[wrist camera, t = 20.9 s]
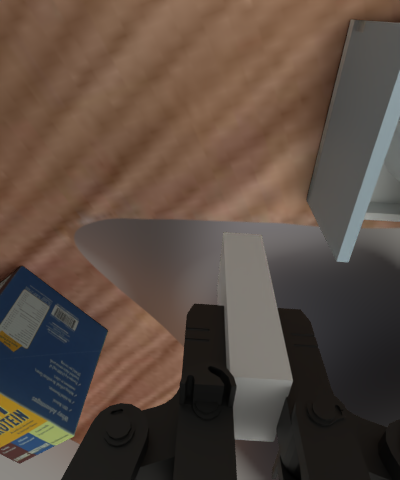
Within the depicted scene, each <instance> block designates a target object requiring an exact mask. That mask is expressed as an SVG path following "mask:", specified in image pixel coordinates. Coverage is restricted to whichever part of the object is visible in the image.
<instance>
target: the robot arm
mask: <svg viewBox="0 0 400 480" xmlns="http://www.w3.org/2000/svg"><path fill="white" fill-rule="evenodd" d="M217 289H218V305H207V304H206V305H205V304H194V305H193V306H192V308H191V309H190V311H189V312H188V314H187V320H186V333H185V344H184V356H183V368H182V379H181V382H180V388H179V390H178V392H177V393H176V394H175V396H174V397H173V398H172V399H171V400H169V401H168V402H166V403H165V404H162V405H160V406H157V407H153V408H150V409H146V410H142V411H141V410H140V409H139V408H137V407H135V406H133V405H132V404H123V403H120V404H116V405H112V406H109V407H108V408H106V409H105V410H103V411H102V412H100V413H99V415H98V416H97V417H96V418H95V420H94V421H93V422H92V424H91V426H90V428H89V430H88V431H87V433H86V435H85V437H84V439H83V441H82V442H81V444H80V446H79V448H78V450H77V452H76V454H75V455H74V457H73V459H72V461H71V463H70V464H69V466H68V468H67V470H66V472H65V473H64V475H63V477H62V479H61V480H237V475H236V474H237V473H236V455H235V439H237V440H253V441H271V442H273V441H274V439H275V435H276V432H277V437H278V443H279V451H278V454H277V457H276V460H275V464H274V466H273V469H272V479H276V477H277V474H278V479H279V480H400V420H396V421H395V422H392V423H390V424H389V426H388V427H384V426H382V425H379V424H376V423H374V422H370V421H368V420H365V419H362V418H360V417H358V416H356V415H354V414H352V413H351V412H349V411H348V410H347V409H346V408H345V406H344V404H343V403H342V402H341V401H340V400H339V399H338V398H337V397H335V396H334V394H333V391H332V389H331V386H330V383H329V380H328V376H327V373H326V370H325V367H324V364H323V361H322V357H321V354H320V351H319V349H318V344H317V341H316V338H315V337H314V332H313V328H312V325H311V322H310V321H309V319H308V318H307V317H306V316H305V314H304V313H303V312H302V311H301V310H298V309H283V308H277V304H276V300H275V295H274V291H273V286H272V281H271V277H270V272H269V267H268V263H267V258H266V254H265V249H264V244H263V240H262V235H255V234H240V233H226V232H225V233H223V240H222V250H221V259H220V267H219V276H218V285H217Z"/></svg>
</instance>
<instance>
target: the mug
mask: <svg viewBox="0 0 400 480" xmlns="http://www.w3.org/2000/svg"><path fill="white" fill-rule="evenodd" d="M384 163H385V166H386V167H387V169H388V171H389V172H390V173H391V174H392V175H393V176H394V177H395V178H396V179H397V180H399V181H400V118H399V120H398V123H397V126H396V129H395V132H394V135H393V137H392V140H391V143H390V146H389V149H388V152H387V154H386V157H385V160H384Z"/></svg>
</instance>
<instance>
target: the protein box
mask: <svg viewBox="0 0 400 480" xmlns="http://www.w3.org/2000/svg"><path fill="white" fill-rule="evenodd" d="M107 332H108V330H106V329H105V328H104V327H103V326H101V325H100V324H99V323H97V322H96V321H95V320H93V319H92V318H91V317H89V316H88V315H87V314H85V313H84V312H83V311H81V310H80V309H79V308H77V307H76V306H75V305H73V304H72V303H71V302H70V301H68V300H67V299H66V298H64V297H63V296H62V295H60V294H59V293H58V292H56V291H55V290H54V289H52V288H51V287H50V286H48V285H47V284H46V283H44V282H43V281H42V280H41V279H39V278H38V277H37V276H35V275H34V274H33V273H31V272H30V271H29V270H27V269H26V268H25V267H23V266H21V267H19V268H18V269H17V270H15V271H14V272H13V273H12V274H11V275H9V276H8V277H7V278H6V279H5V280H3V281H2V282H1V283H0V454H2V455H3V456H5V457H7V458H9V459H11V460H13V461H15V462H17V463H22V462H24V461H26V460H28V459H30V458H32V457H34V456H36V455H38V454H40V453H42V452H43V451H46V450H48V449H50V448H51V447H54V446H55V445H58V444H60V443H62V442H64V441H66V440H68V439H70V438H72V437H74V435H75V431H76V428H77V424H78V421H79V418H80V415H81V412H82V409H83V406H84V402H85V399H86V396H87V393H88V390H89V387H90V384H91V381H92V378H93V375H94V372H95V369H96V366H97V363H98V360H99V357H100V354H101V350H102V348H103V345H104V342H105V338H106V335H107Z"/></svg>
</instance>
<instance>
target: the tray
mask: <svg viewBox="0 0 400 480" xmlns="http://www.w3.org/2000/svg"><path fill="white" fill-rule="evenodd" d="M399 118H400V23H393V22H379V21H365V20H351V21H350V25H349V29H348V33H347V37H346V41H345V46H344V50H343V54H342V58H341V62H340V66H339V70H338V74H337V78H336V82H335V86H334V90H333V94H332V98H331V103H330V107H329V111H328V115H327V119H326V123H325V127H324V131H323V135H322V139H321V143H320V147H319V151H318V155H317V159H316V164H315V168H314V172H313V176H312V180H311V184H310V188H309V192H308V196H307V202H308V204H309V206H310V208H311V210H312V212H313V215H314V217H315V219H316V221H317V223H318V225H319V227H320V229H321V231H322V233H323V235H324V237H325V239H326V241H327V243H328V245H329V247H330V249H331V251H332V253H333V255H334V257H335V259H336V261H337V262H349V259H350V256H351V254H352V250H353V248H354V245H355V242H356V239H357V237H358V234H359V231H360V228H361V225H362V222H363V220H364V219H365V220H380V221H395V222H400V181H399V180H397V179H396V178H395V177H394V176H393V175H392V174H391V173H390V172H389V171H388V169H387V167H386V166H385V163H384V160H385V157H386V154H387V152H388V149H389V146H390V143H391V140H392V137H393V135H394V132H395V129H396V126H397V123H398V120H399Z"/></svg>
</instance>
